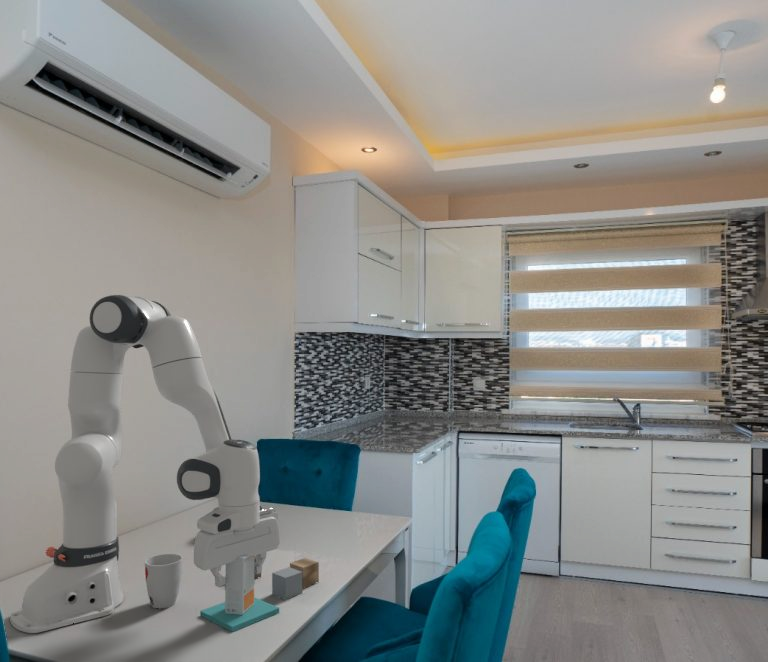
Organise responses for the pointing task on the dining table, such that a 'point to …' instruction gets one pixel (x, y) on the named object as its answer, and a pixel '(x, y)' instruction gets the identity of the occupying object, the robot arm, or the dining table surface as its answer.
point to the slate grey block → (287, 583)
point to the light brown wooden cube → (307, 571)
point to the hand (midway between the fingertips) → (239, 579)
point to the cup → (163, 579)
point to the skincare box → (239, 585)
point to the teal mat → (239, 621)
